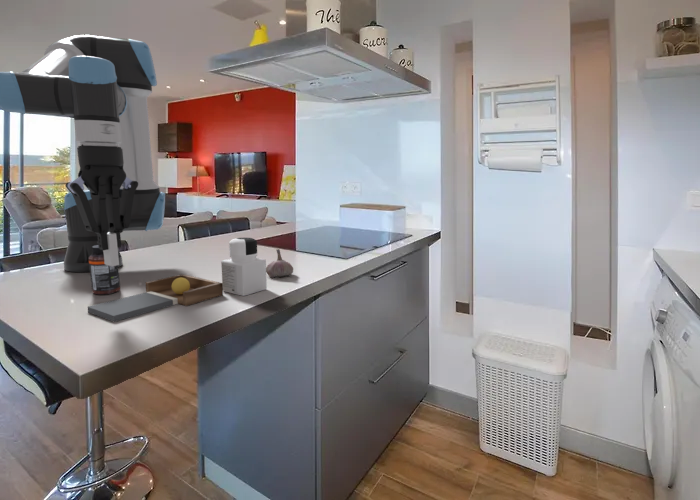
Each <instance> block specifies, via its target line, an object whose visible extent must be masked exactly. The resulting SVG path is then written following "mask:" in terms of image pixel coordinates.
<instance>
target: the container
mask: <svg viewBox="0 0 700 500" xmlns="http://www.w3.org/2000/svg"><path fill="white" fill-rule="evenodd" d="M228 244H229V245H228V248H229V258H228V259H227V258H226V259H224V260H223V259H222V260H221V281H222V282H221V283H222V285H223V292H225V293H226V292H227V293H229V294H234V295H237V296H242V297H245V296H249V295H252V294H255V293H259V292H262V291H266V290H267V286H268V285H267V283H268V282H267V272H266V267H267V260H266V259H264V258H259V257H258V240H257V239H255V238H252V237H235V238H232V239H231V240H230V241H229V242H228Z"/></svg>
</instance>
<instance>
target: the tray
mask: <svg viewBox="0 0 700 500" xmlns="http://www.w3.org/2000/svg"><path fill="white" fill-rule="evenodd" d="M180 277H182V278H185V279H187V280H188V281H189V283H190V288H189V290H188V291H185V292H183V294H181V295H179V294H176V293H175V292H174V291H173V290H172V283H173V281H174V280H175V279H177V278H180ZM150 291H152V292H156V293H159V294H163V295H167V296H170V297H174V298H178V304H177V305H182V306H185V307H188V306H192V305H195V304H198V303H201V302H205V301H208V300H212V299H215V298H218V297H221V296H222V297H223V296H224V291H223V285H222V282H220V281H214V280H210V279H206V278H201V277H196V276H192V275H189V274H188V275H187V274H183V273H181V274H177V275H173V276H168V277H165V278H160V279H155V280H151V281H146V282H145V293H146V292H150Z"/></svg>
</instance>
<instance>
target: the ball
mask: <svg viewBox="0 0 700 500" xmlns="http://www.w3.org/2000/svg"><path fill="white" fill-rule="evenodd" d="M189 288H190V283H189V281H188V280H187V279H185V278H182V277H180V278H177V279H175V280H174V281H173V283H172V290H173V291H174V292H175V293H176V294H179V295H181V294H183V292H185V291H188V290H189Z"/></svg>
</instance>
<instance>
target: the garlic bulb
mask: <svg viewBox="0 0 700 500" xmlns="http://www.w3.org/2000/svg"><path fill="white" fill-rule="evenodd" d="M275 251H276V254H277V259H276V260H273V261H271V262H270V263H268V264H267V265H266V275H268V277H270V278H272V279H273V278H276V277H280V278H281V277H285V276H287V277H289V276H292V274H293V273H294V267H293V265H292V264H291V263H290V262H288V261H286V260H285V259H283V257H282V254H281V250H280V248H276V250H275Z"/></svg>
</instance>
